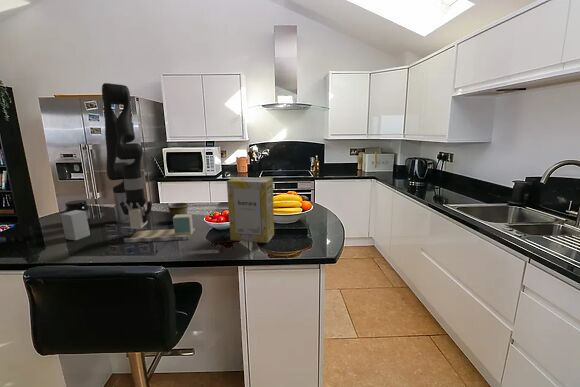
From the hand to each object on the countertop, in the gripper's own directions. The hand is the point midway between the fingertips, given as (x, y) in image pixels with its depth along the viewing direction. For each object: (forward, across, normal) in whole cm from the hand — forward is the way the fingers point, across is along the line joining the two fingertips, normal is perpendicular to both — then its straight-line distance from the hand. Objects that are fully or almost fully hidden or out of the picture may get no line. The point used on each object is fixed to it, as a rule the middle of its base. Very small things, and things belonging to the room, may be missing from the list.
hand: (138, 222), depth 132 cm
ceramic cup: (+8, +11, +23) cm, 27 cm away
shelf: (+8, +10, -1) cm, 13 cm away
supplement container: (+9, -45, +29) cm, 54 cm away
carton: (+2, 0, 0) cm, 2 cm away
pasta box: (+7, +54, -6) cm, 54 cm away
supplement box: (+9, -32, +6) cm, 33 cm away
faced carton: (+6, +20, -1) cm, 21 cm away
